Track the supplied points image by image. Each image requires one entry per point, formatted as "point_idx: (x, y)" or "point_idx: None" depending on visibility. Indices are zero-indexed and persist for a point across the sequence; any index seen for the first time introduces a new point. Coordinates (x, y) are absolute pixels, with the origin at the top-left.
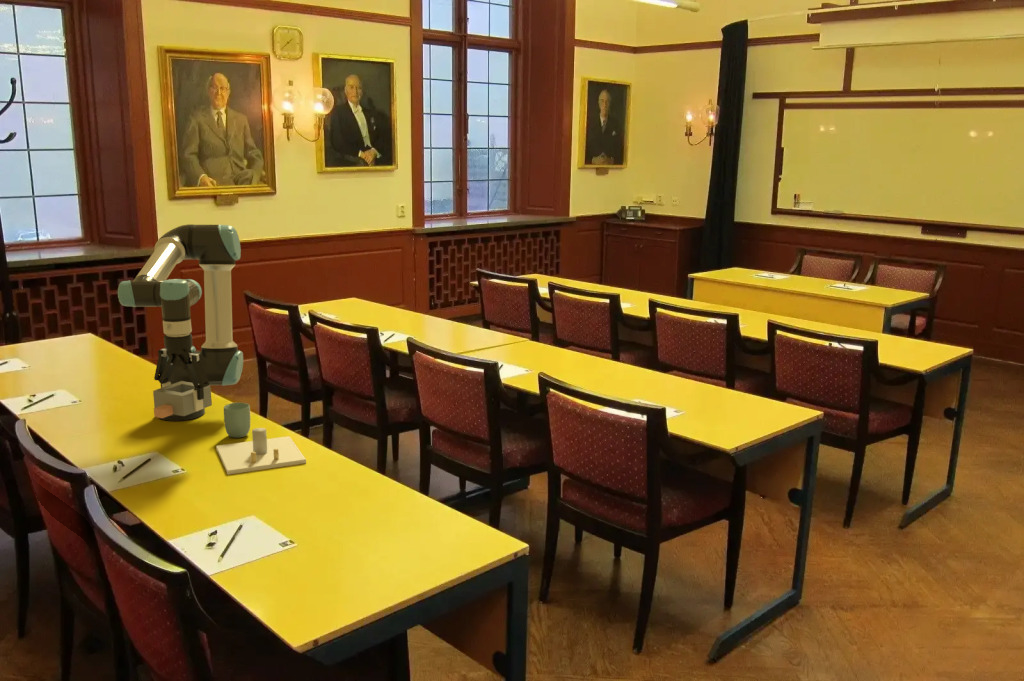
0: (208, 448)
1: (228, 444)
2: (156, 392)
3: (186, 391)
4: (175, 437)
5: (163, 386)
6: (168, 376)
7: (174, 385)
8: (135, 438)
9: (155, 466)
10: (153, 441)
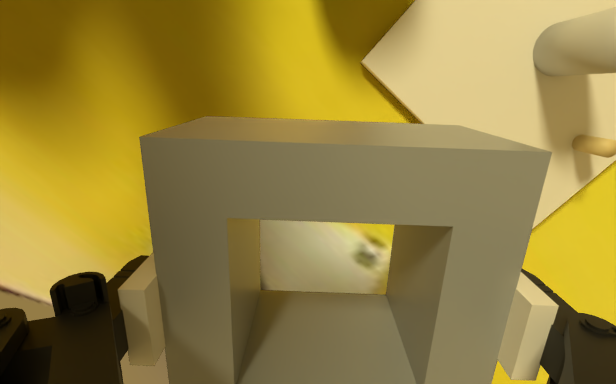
0: (325, 64)
1: (395, 28)
2: None
3: (430, 364)
4: (132, 18)
5: (157, 348)
6: (120, 376)
7: (206, 282)
8: (25, 92)
9: (288, 253)
10: (103, 89)
